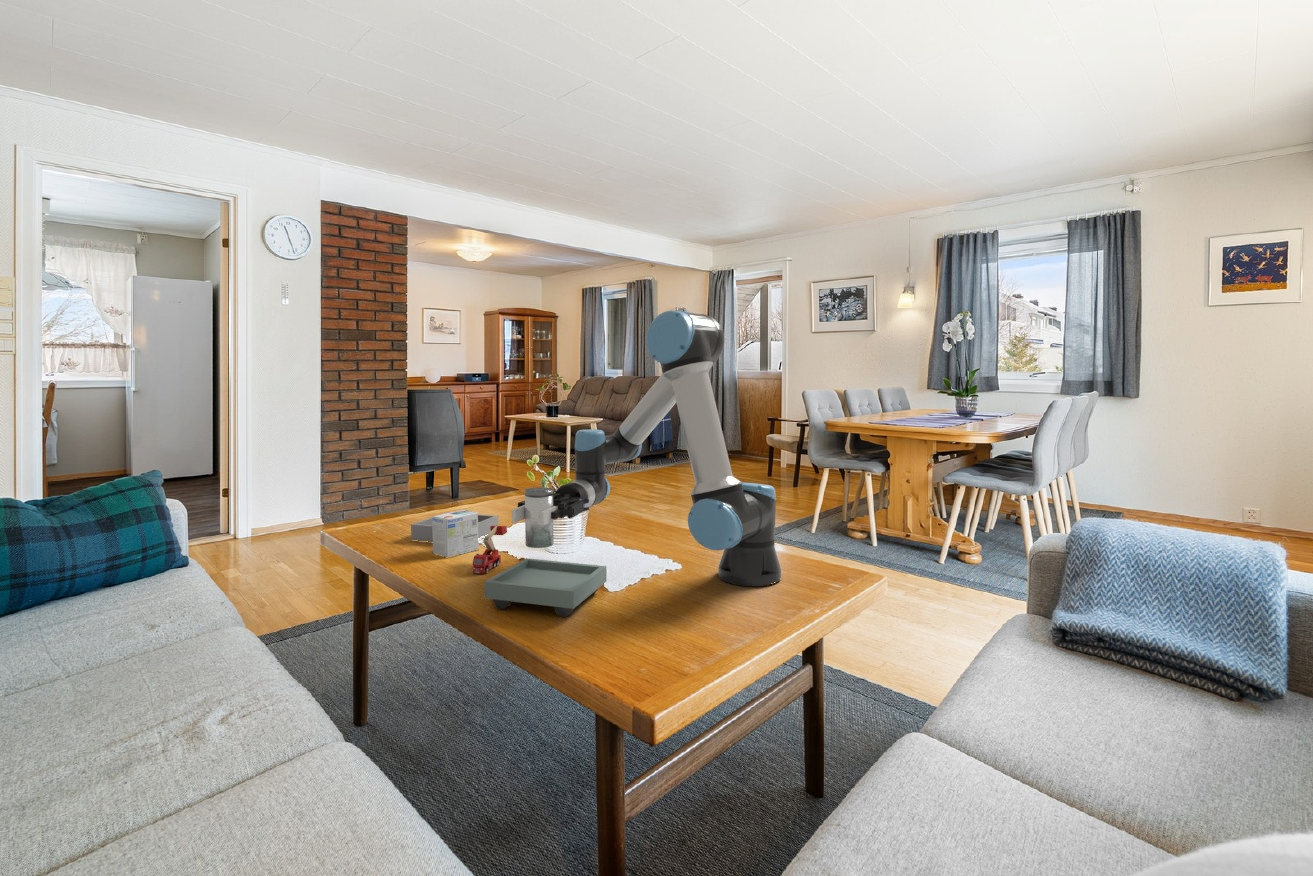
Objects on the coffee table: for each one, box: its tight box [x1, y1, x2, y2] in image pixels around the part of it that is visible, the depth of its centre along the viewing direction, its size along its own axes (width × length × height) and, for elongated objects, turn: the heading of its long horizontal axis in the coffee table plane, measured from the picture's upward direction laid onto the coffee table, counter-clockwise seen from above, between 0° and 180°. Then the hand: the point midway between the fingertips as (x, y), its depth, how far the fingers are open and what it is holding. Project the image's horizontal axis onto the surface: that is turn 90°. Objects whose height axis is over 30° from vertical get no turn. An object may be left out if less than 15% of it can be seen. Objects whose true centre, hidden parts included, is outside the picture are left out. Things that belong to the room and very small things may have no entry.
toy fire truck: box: [472, 525, 508, 574], centre depth 164 cm, size 3×14×10 cm, turn 169°
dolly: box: [483, 558, 607, 618], centre depth 140 cm, size 20×18×6 cm
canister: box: [523, 486, 555, 549], centre depth 141 cm, size 6×6×12 cm
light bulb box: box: [431, 509, 479, 558], centre depth 178 cm, size 11×7×11 cm, turn 144°
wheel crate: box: [410, 511, 499, 542], centre depth 195 cm, size 18×18×5 cm
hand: (527, 517), depth 136 cm, fingers closed on canister, 6 cm apart
